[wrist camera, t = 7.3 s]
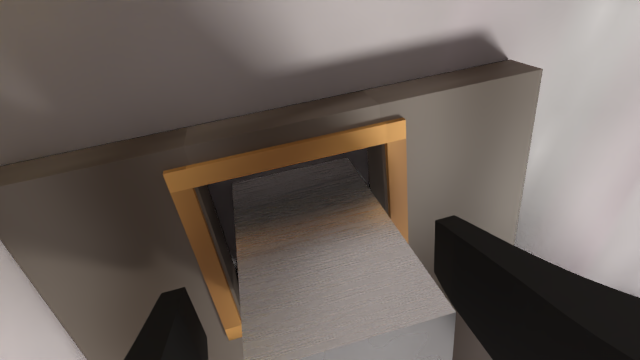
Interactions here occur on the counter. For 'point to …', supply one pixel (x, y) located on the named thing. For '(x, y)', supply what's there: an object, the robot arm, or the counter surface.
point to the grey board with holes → (249, 158)
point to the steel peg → (331, 273)
